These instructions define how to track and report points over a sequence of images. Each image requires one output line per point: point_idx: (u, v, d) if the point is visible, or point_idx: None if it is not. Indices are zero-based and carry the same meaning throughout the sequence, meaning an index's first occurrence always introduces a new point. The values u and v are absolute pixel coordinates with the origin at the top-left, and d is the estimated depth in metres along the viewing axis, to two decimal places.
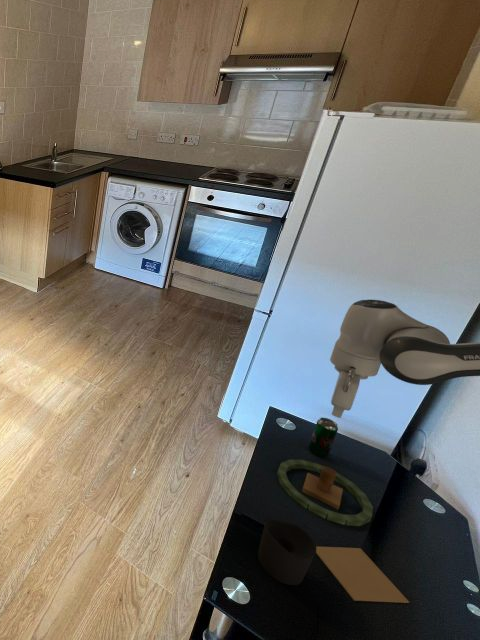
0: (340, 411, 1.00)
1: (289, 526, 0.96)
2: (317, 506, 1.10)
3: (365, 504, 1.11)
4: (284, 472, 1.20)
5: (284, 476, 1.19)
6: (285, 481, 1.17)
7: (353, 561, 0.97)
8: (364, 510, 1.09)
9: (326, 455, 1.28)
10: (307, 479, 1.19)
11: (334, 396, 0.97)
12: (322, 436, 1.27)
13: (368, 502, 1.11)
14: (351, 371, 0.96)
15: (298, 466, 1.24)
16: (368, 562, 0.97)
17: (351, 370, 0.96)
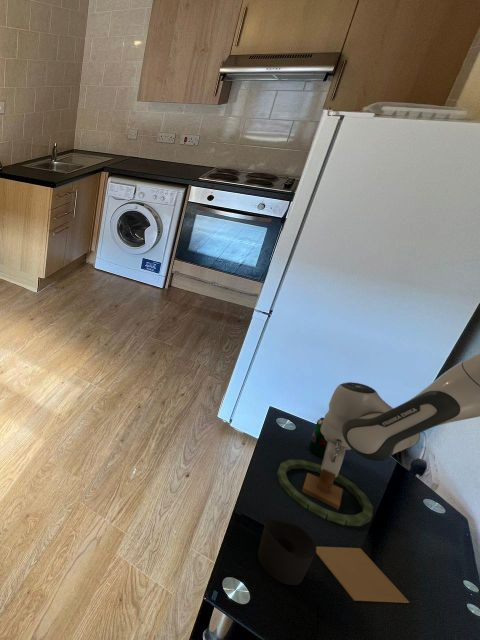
0: None
1: (289, 526, 0.96)
2: (317, 506, 1.10)
3: (365, 504, 1.10)
4: (284, 472, 1.20)
5: (284, 476, 1.19)
6: (285, 481, 1.17)
7: (353, 561, 0.97)
8: (364, 510, 1.09)
9: None
10: (307, 479, 1.19)
11: (323, 465, 1.14)
12: (322, 436, 1.27)
13: (368, 502, 1.11)
14: (337, 444, 1.13)
15: (298, 466, 1.24)
16: (368, 562, 0.97)
17: (337, 443, 1.14)
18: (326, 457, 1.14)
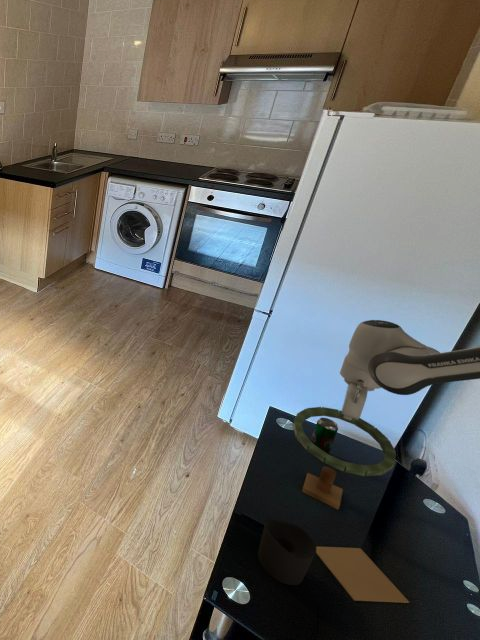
0: None
1: (289, 526, 0.96)
2: (334, 459, 1.05)
3: (387, 450, 1.05)
4: (300, 424, 1.15)
5: (300, 428, 1.14)
6: (301, 434, 1.13)
7: (353, 561, 0.97)
8: (386, 458, 1.04)
9: None
10: (307, 479, 1.19)
11: (344, 406, 1.08)
12: (322, 436, 1.27)
13: (391, 448, 1.06)
14: (359, 384, 1.07)
15: (316, 414, 1.18)
16: (368, 562, 0.97)
17: (359, 383, 1.08)
18: (347, 398, 1.08)
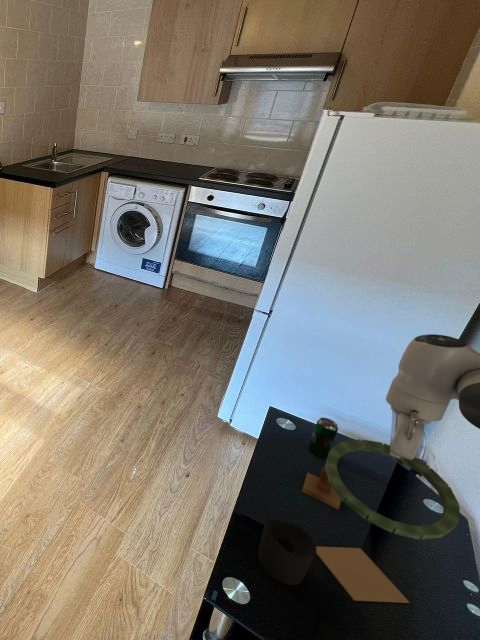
0: None
1: (289, 526, 0.96)
2: (380, 517, 0.85)
3: (448, 503, 0.84)
4: (335, 465, 0.94)
5: (334, 472, 0.93)
6: (336, 481, 0.92)
7: (353, 561, 0.97)
8: (447, 514, 0.83)
9: (326, 455, 1.28)
10: (307, 479, 1.19)
11: (394, 443, 0.87)
12: (322, 436, 1.27)
13: (453, 498, 0.84)
14: (414, 416, 0.86)
15: (354, 449, 0.97)
16: (368, 562, 0.97)
17: (414, 414, 0.86)
18: (399, 433, 0.86)
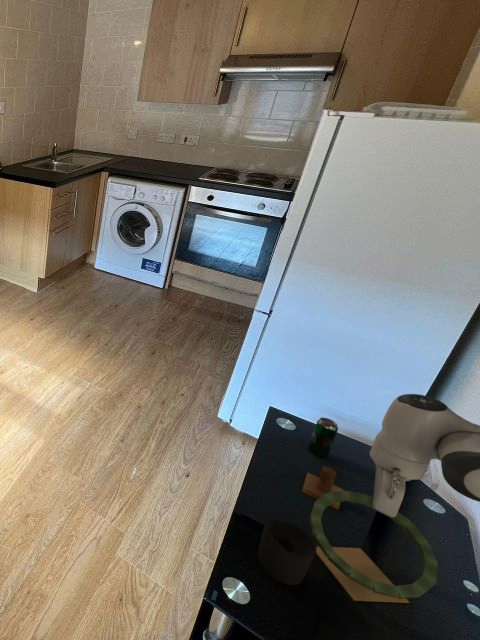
0: None
1: (289, 526, 0.96)
2: (360, 576, 0.88)
3: (427, 561, 0.87)
4: (319, 519, 0.97)
5: (318, 526, 0.96)
6: (319, 536, 0.95)
7: (353, 561, 0.97)
8: (425, 573, 0.86)
9: (326, 455, 1.28)
10: (307, 479, 1.19)
11: (377, 501, 0.89)
12: (322, 436, 1.27)
13: (432, 556, 0.87)
14: (396, 475, 0.88)
15: (339, 500, 1.00)
16: (368, 562, 0.97)
17: (396, 473, 0.89)
18: (381, 491, 0.89)
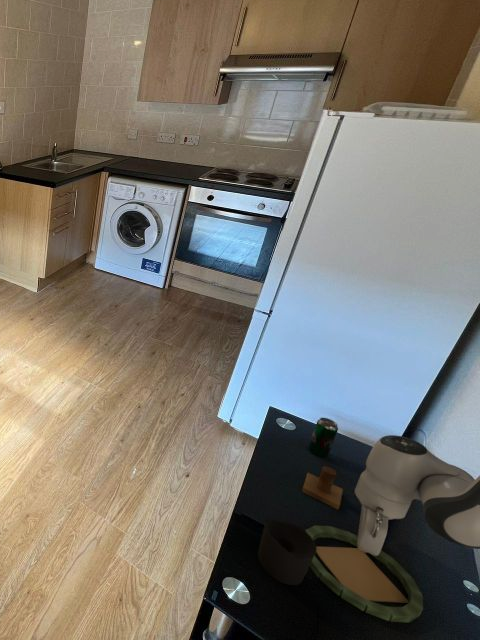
0: None
1: (289, 526, 0.96)
2: (353, 594, 0.88)
3: (413, 591, 0.89)
4: None
5: None
6: None
7: (353, 561, 0.97)
8: (412, 600, 0.87)
9: (326, 455, 1.28)
10: (307, 479, 1.19)
11: (361, 539, 0.93)
12: (322, 436, 1.27)
13: (416, 588, 0.90)
14: (379, 514, 0.92)
15: (326, 535, 1.03)
16: (368, 562, 0.97)
17: (379, 513, 0.92)
18: (365, 530, 0.92)
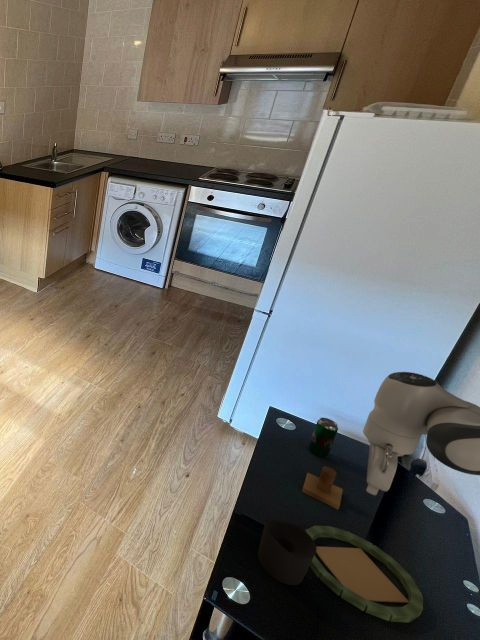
0: (375, 489, 0.95)
1: (289, 526, 0.96)
2: (353, 594, 0.88)
3: (413, 591, 0.89)
4: None
5: None
6: None
7: (353, 561, 0.97)
8: (412, 600, 0.87)
9: (326, 455, 1.28)
10: (307, 479, 1.19)
11: (370, 476, 0.92)
12: (322, 436, 1.27)
13: (416, 588, 0.90)
14: (388, 450, 0.91)
15: (326, 535, 1.03)
16: (368, 562, 0.97)
17: (388, 448, 0.91)
18: (374, 466, 0.91)
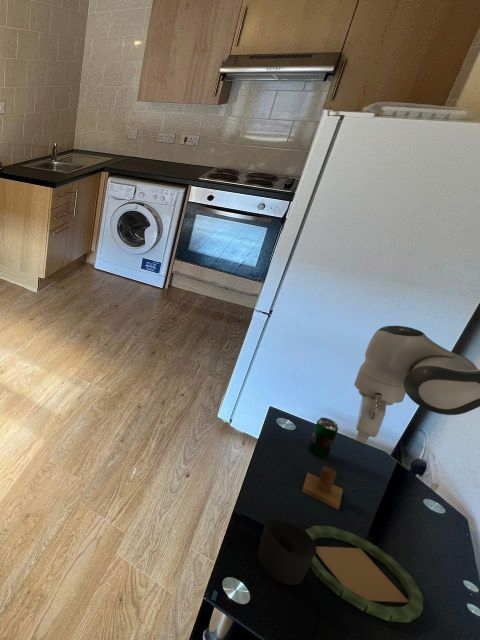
0: (365, 437, 1.00)
1: (289, 526, 0.96)
2: (353, 594, 0.88)
3: (413, 591, 0.89)
4: None
5: None
6: None
7: (353, 561, 0.97)
8: (412, 600, 0.87)
9: (326, 455, 1.28)
10: (307, 479, 1.19)
11: (360, 422, 0.97)
12: (322, 436, 1.27)
13: (416, 588, 0.90)
14: (377, 398, 0.96)
15: (326, 535, 1.03)
16: (368, 562, 0.97)
17: (377, 397, 0.96)
18: (364, 413, 0.96)
